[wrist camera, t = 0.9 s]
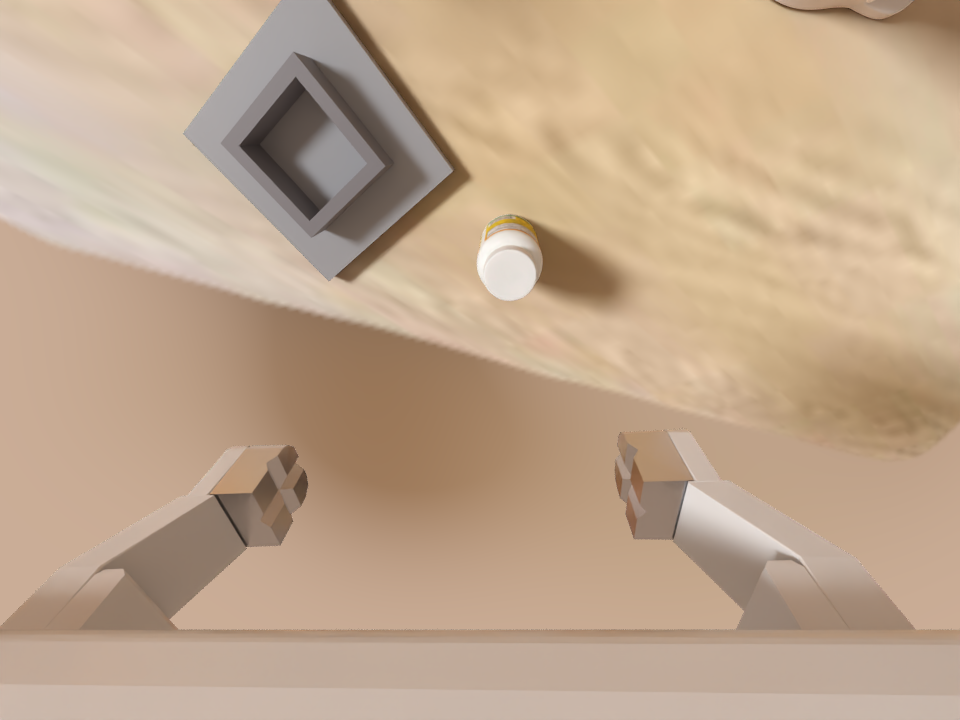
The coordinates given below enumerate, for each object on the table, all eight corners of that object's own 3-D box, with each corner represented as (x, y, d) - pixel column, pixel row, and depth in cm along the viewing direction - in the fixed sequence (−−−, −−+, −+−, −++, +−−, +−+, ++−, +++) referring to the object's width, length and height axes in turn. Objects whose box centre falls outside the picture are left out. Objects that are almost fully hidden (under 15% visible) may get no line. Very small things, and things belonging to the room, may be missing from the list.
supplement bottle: (500, 201, 36) (499, 224, 27) (548, 233, 37) (561, 264, 29) (470, 252, 38) (461, 286, 30) (516, 280, 39) (519, 321, 31)
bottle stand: (313, -24, 28) (283, -48, 25) (454, 169, 34) (448, 175, 31) (194, 133, 34) (155, 134, 30) (334, 276, 40) (316, 292, 36)
